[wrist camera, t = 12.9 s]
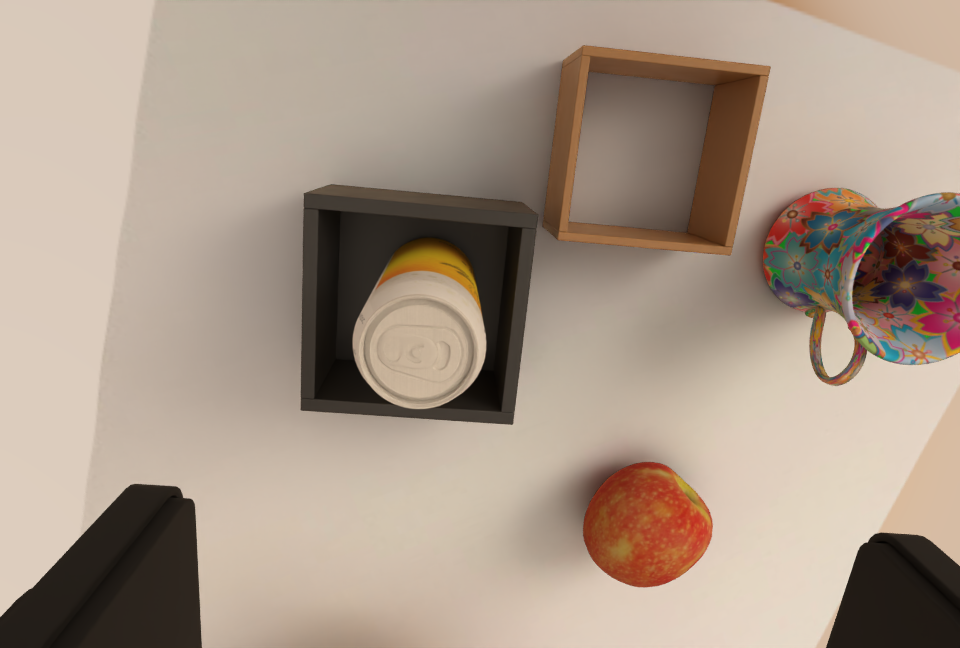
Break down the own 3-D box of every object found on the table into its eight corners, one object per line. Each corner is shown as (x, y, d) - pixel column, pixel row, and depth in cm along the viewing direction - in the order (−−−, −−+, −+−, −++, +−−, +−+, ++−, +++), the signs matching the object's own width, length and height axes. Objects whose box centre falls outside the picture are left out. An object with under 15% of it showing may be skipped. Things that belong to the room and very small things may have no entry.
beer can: (466, 330, 42) (474, 426, 28) (378, 316, 42) (340, 406, 27) (482, 244, 41) (500, 299, 26) (391, 228, 40) (358, 275, 26)
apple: (702, 493, 47) (750, 560, 40) (619, 558, 49) (650, 635, 41) (638, 426, 45) (676, 483, 38) (554, 495, 47) (574, 564, 39)
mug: (797, 157, 40) (914, 162, 30) (909, 215, 42) (1057, 238, 32) (706, 317, 43) (785, 370, 33) (814, 366, 45) (921, 431, 35)
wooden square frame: (562, 60, 38) (582, 44, 32) (723, 78, 39) (771, 66, 33) (542, 226, 41) (557, 240, 35) (692, 240, 42) (731, 255, 36)
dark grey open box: (330, 184, 40) (303, 192, 32) (522, 202, 40) (538, 214, 33) (325, 366, 43) (300, 410, 36) (502, 379, 44) (513, 425, 37)
